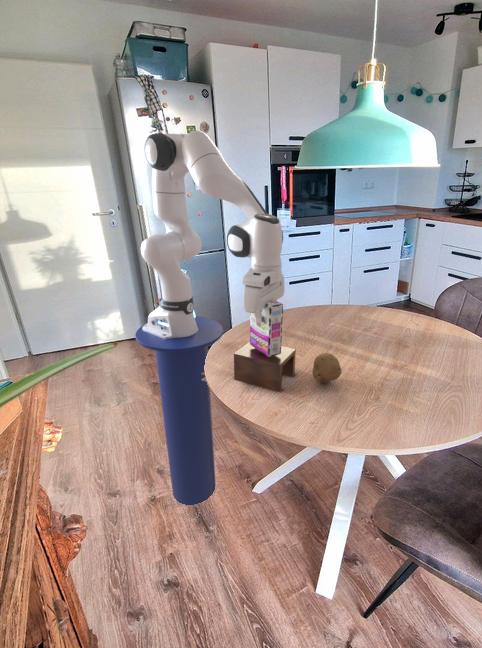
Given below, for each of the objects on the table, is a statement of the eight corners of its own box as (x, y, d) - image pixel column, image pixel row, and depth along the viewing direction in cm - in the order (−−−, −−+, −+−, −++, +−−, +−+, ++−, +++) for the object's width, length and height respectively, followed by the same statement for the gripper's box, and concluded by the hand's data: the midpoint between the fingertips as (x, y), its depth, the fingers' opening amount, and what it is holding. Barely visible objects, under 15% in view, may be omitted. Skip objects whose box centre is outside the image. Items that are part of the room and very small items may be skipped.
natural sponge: (344, 380, 126) (347, 353, 122) (332, 392, 119) (335, 364, 115) (319, 372, 130) (321, 346, 126) (307, 384, 123) (308, 356, 119)
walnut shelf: (234, 379, 124) (233, 353, 120) (252, 364, 134) (252, 339, 130) (279, 391, 119) (280, 364, 115) (294, 374, 129) (295, 349, 125)
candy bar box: (282, 354, 120) (284, 304, 113) (268, 358, 117) (270, 307, 110) (262, 340, 128) (262, 293, 120) (249, 344, 125) (249, 296, 118)
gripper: (271, 264, 122) (271, 306, 128) (239, 280, 105) (239, 327, 110) (290, 267, 120) (288, 309, 125) (259, 283, 102) (259, 331, 108)
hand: (265, 318), depth 118 cm, fingers closed on candy bar box, 6 cm apart
